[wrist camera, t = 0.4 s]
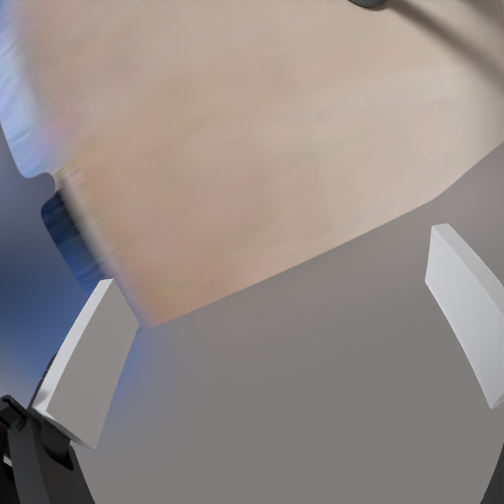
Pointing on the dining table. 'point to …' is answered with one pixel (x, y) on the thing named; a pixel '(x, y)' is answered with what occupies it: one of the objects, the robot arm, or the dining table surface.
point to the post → (367, 2)
